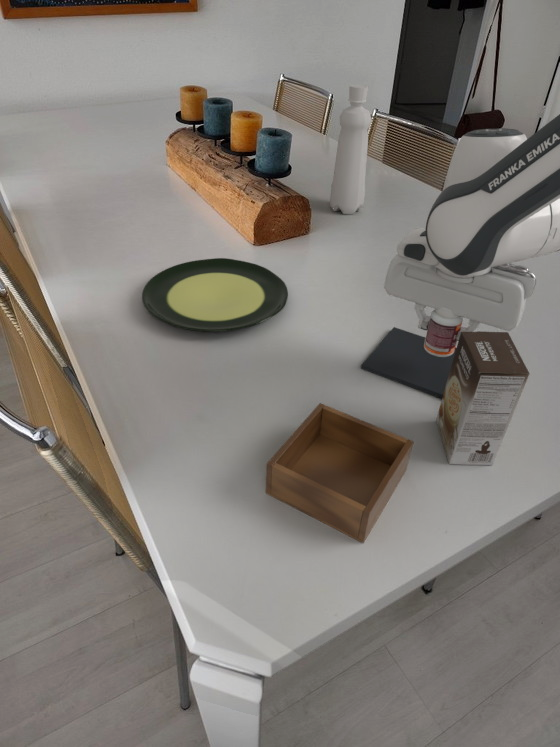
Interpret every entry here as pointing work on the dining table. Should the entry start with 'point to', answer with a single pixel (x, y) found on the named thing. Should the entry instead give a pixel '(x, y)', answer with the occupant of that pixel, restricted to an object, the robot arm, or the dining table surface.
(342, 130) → the bottle
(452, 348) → the pill bottle
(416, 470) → the dining table surface
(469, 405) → the coffee box
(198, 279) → the plate
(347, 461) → the wooden box
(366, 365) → the mat
